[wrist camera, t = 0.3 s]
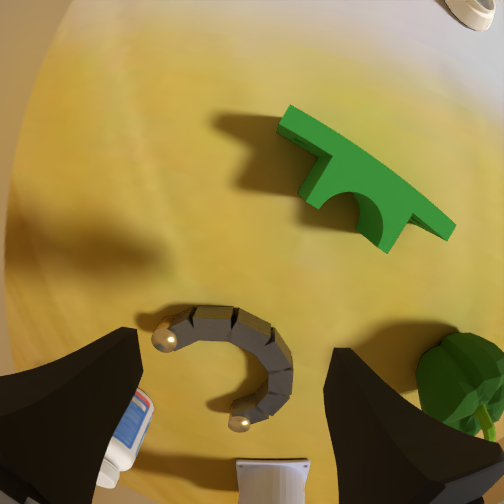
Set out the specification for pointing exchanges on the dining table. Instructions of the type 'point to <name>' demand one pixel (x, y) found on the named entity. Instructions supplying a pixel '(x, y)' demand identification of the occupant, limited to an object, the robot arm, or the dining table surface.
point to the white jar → (473, 12)
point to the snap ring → (246, 337)
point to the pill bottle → (126, 440)
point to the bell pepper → (463, 383)
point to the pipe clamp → (360, 183)
